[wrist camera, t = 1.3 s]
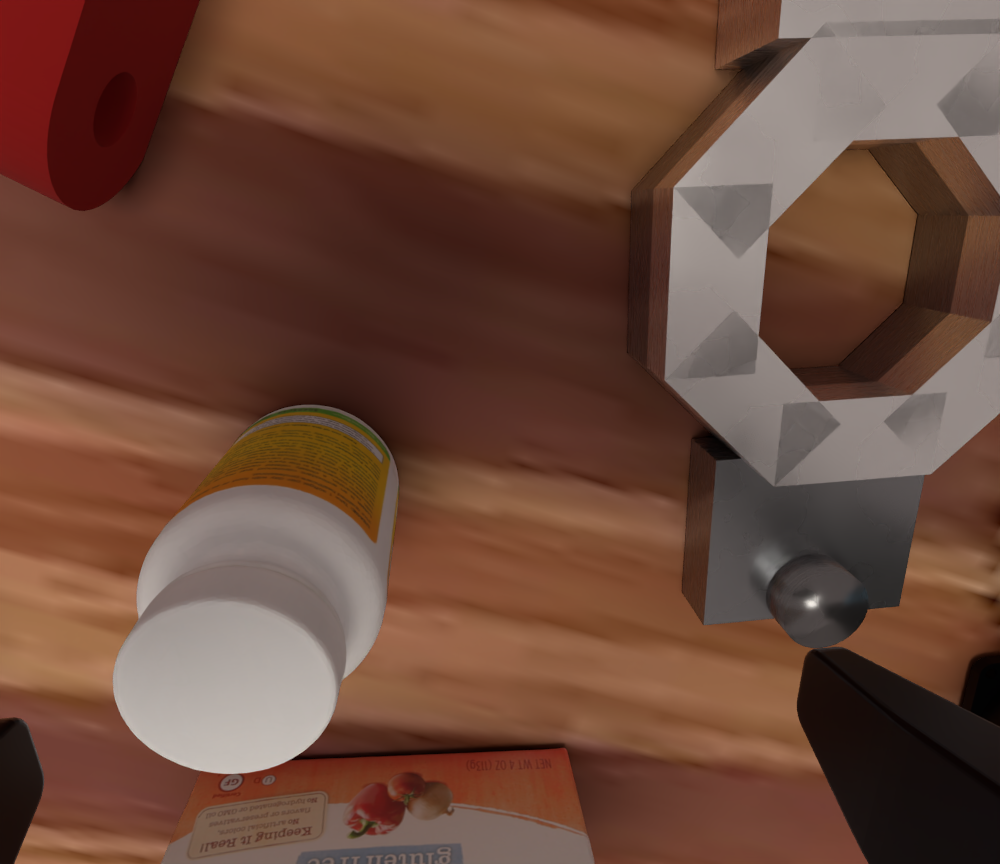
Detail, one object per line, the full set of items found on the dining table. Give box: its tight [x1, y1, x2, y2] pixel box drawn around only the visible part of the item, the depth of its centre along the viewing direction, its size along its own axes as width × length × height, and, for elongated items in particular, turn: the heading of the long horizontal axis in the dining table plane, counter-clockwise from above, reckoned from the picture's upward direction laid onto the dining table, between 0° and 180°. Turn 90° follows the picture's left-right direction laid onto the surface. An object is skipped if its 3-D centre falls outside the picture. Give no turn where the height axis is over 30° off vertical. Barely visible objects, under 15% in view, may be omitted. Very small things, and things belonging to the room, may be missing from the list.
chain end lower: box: [627, 53, 969, 648], centre depth 20 cm, size 18×12×3 cm, turn 2°
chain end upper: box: [647, 0, 1000, 487], centre depth 17 cm, size 18×12×4 cm, turn 2°
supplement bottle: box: [113, 405, 399, 774], centre depth 16 cm, size 5×5×10 cm
